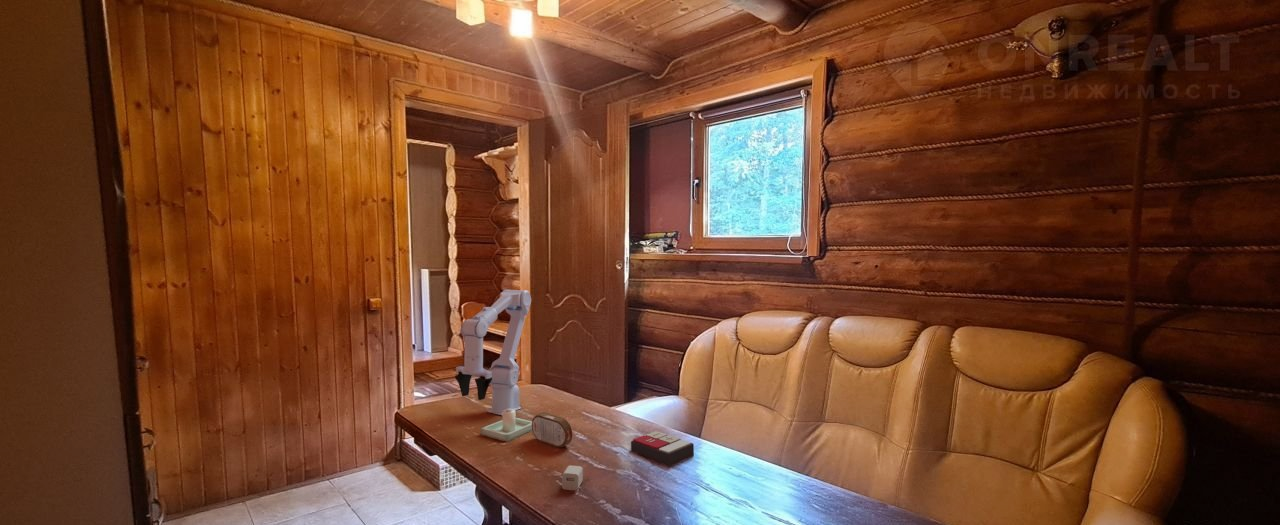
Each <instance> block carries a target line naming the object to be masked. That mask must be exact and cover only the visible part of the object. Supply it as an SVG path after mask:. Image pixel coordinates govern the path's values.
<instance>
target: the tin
mask: <svg viewBox="0 0 1280 525" xmlns="http://www.w3.org/2000/svg"><path fill="white" fill-rule="evenodd" d="M531 421H532V431H531V432H532V435H533V436H534V437H535V439H536V440H538V441H539V442H540V443H541V442H542V443H545V444H547V445H550V446H552V447H555V446H556V448H563V447H565V446H568V445H569V444H570V443H571V442H572V440H573V429H572V426H571V424H570V423H569V421H568V420H567V419H565V418H564V417H561V416H557V415H555V414H551V413H548V412H546V411H545V412H544V411H543V412H540V413H539V414H537V415H535V416H533V418H532V420H531Z"/></svg>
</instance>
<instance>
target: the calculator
mask: <svg viewBox="0 0 1280 525" xmlns="http://www.w3.org/2000/svg"><path fill="white" fill-rule="evenodd" d="M694 447H695V446H694V443H693V442H691V441H688V440H686V439H681V438H680V437H677V436H674V435H671V434H667V433H665V432H661V431H657V430H655V431H651V432H650V433H647V434H645V435H641V436H638V437H635V438H633V439H632V440H631V441H630V450H631V451H632V452H634V453H637V454H639V455H641V456H643V457H646V458H649V459H651V460H653V461H656V462H657V463H658V464H659V463H660V464H662V465H664V466H666V467H671V466H673V465H677V464H678V463H680V462H682V461H683V462H684V460H687V459H689V458H691V457H694V456H695V452H694V451H695V448H694Z"/></svg>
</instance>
